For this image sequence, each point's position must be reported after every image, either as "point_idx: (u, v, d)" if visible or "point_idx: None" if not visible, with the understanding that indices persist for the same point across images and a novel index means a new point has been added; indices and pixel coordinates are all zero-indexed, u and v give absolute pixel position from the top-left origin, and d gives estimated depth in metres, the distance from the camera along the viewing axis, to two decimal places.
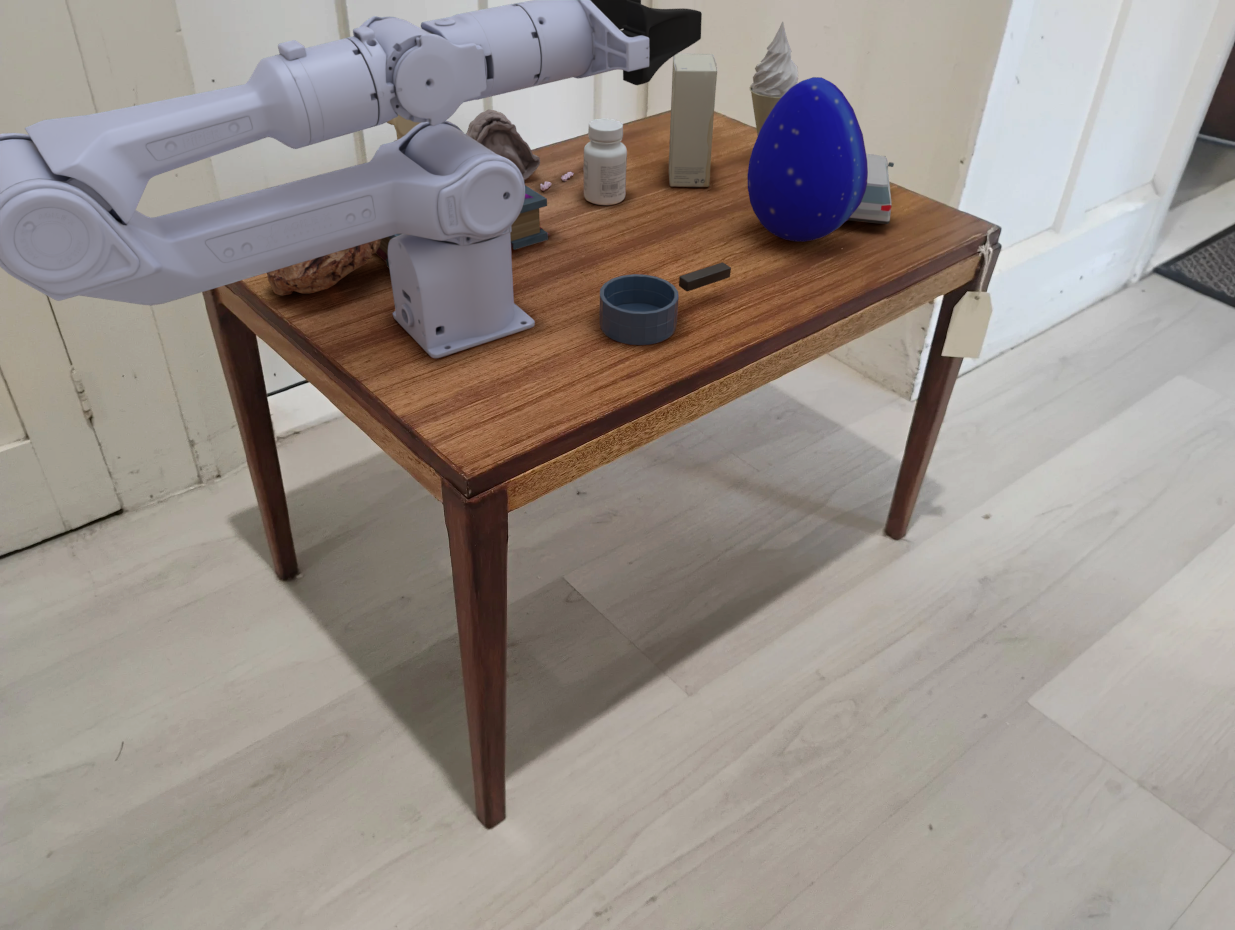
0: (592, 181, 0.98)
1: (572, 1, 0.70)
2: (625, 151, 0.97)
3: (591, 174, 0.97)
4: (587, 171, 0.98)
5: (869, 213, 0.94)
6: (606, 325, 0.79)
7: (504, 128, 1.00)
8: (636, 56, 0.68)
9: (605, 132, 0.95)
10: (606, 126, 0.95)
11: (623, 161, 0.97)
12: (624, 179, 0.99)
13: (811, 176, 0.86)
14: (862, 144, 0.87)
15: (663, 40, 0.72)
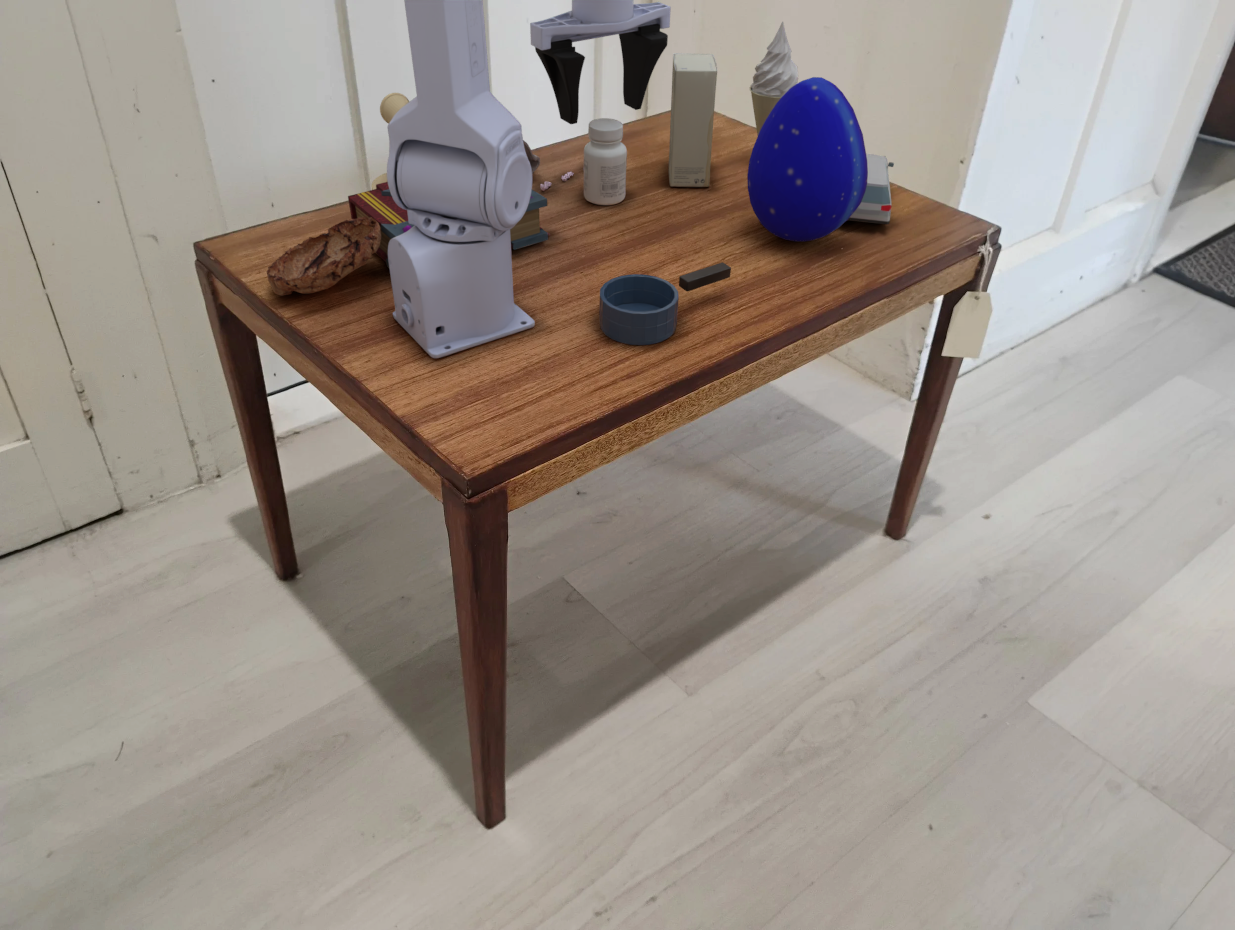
0: (592, 181, 0.98)
1: None
2: (625, 151, 0.97)
3: (591, 174, 0.97)
4: (587, 171, 0.98)
5: (869, 213, 0.94)
6: (606, 325, 0.79)
7: None
8: None
9: (605, 132, 0.95)
10: (606, 126, 0.95)
11: (623, 161, 0.97)
12: (624, 179, 0.99)
13: (811, 176, 0.86)
14: (862, 144, 0.87)
15: None
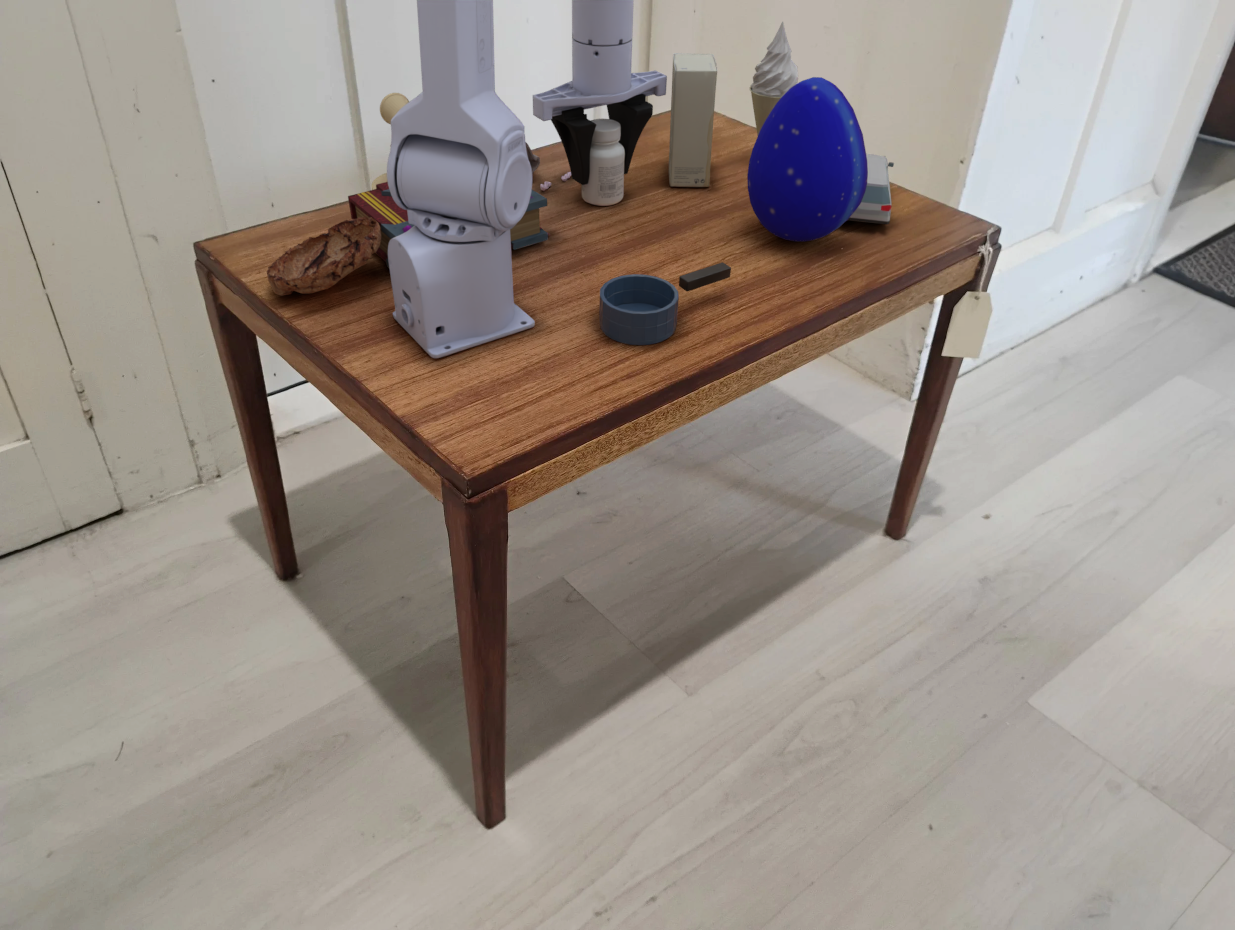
0: (590, 181, 0.98)
1: None
2: (623, 151, 0.97)
3: (589, 174, 0.97)
4: None
5: (869, 213, 0.94)
6: (606, 325, 0.79)
7: None
8: None
9: (602, 132, 0.94)
10: (604, 127, 0.95)
11: (621, 161, 0.97)
12: (622, 179, 0.98)
13: (811, 176, 0.86)
14: (862, 144, 0.87)
15: None
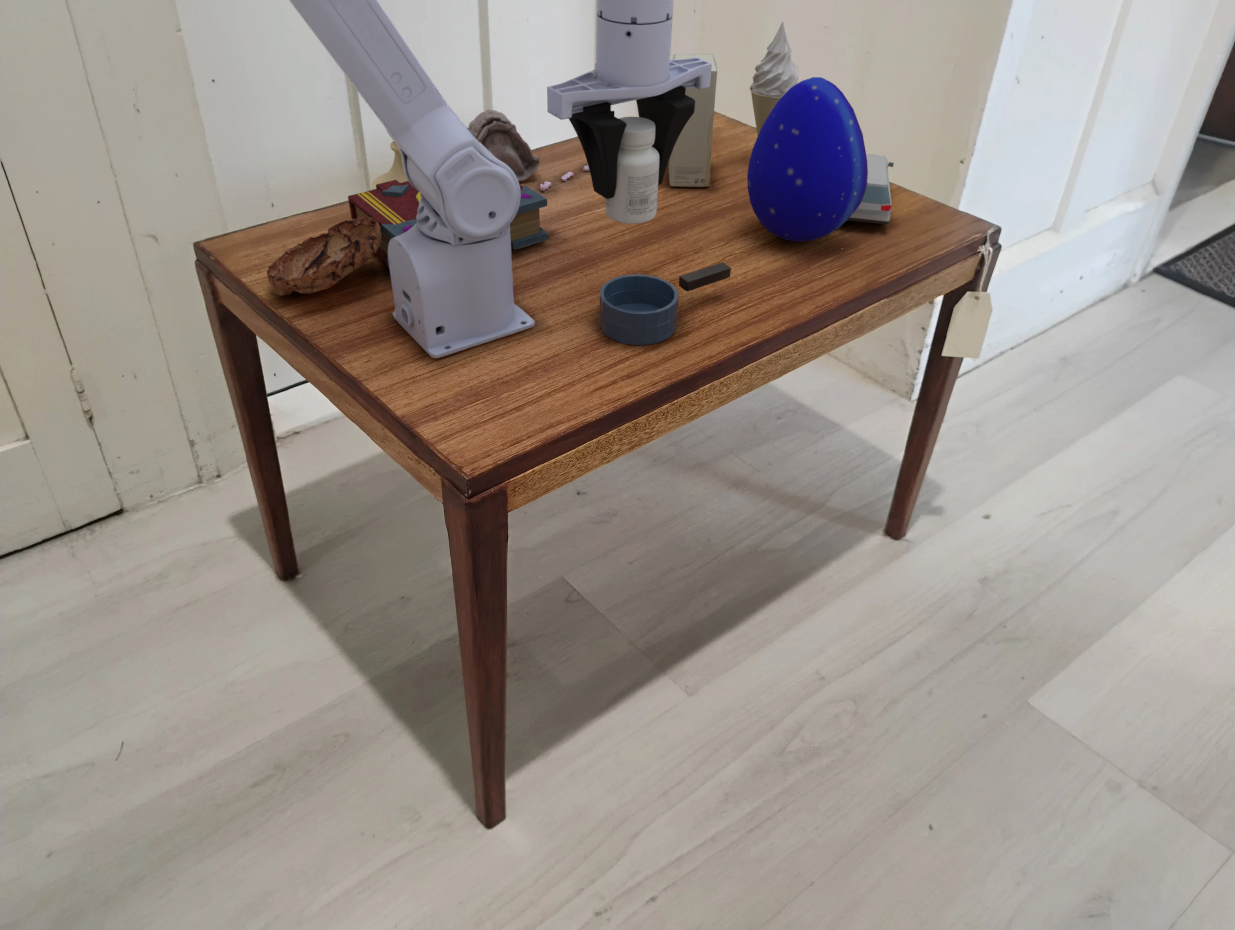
0: (616, 194, 0.79)
1: None
2: (658, 157, 0.78)
3: (616, 186, 0.78)
4: None
5: (869, 213, 0.94)
6: (606, 325, 0.79)
7: (504, 128, 1.00)
8: None
9: (634, 134, 0.76)
10: (635, 127, 0.76)
11: (655, 170, 0.78)
12: (656, 192, 0.80)
13: (811, 176, 0.86)
14: (862, 144, 0.87)
15: None
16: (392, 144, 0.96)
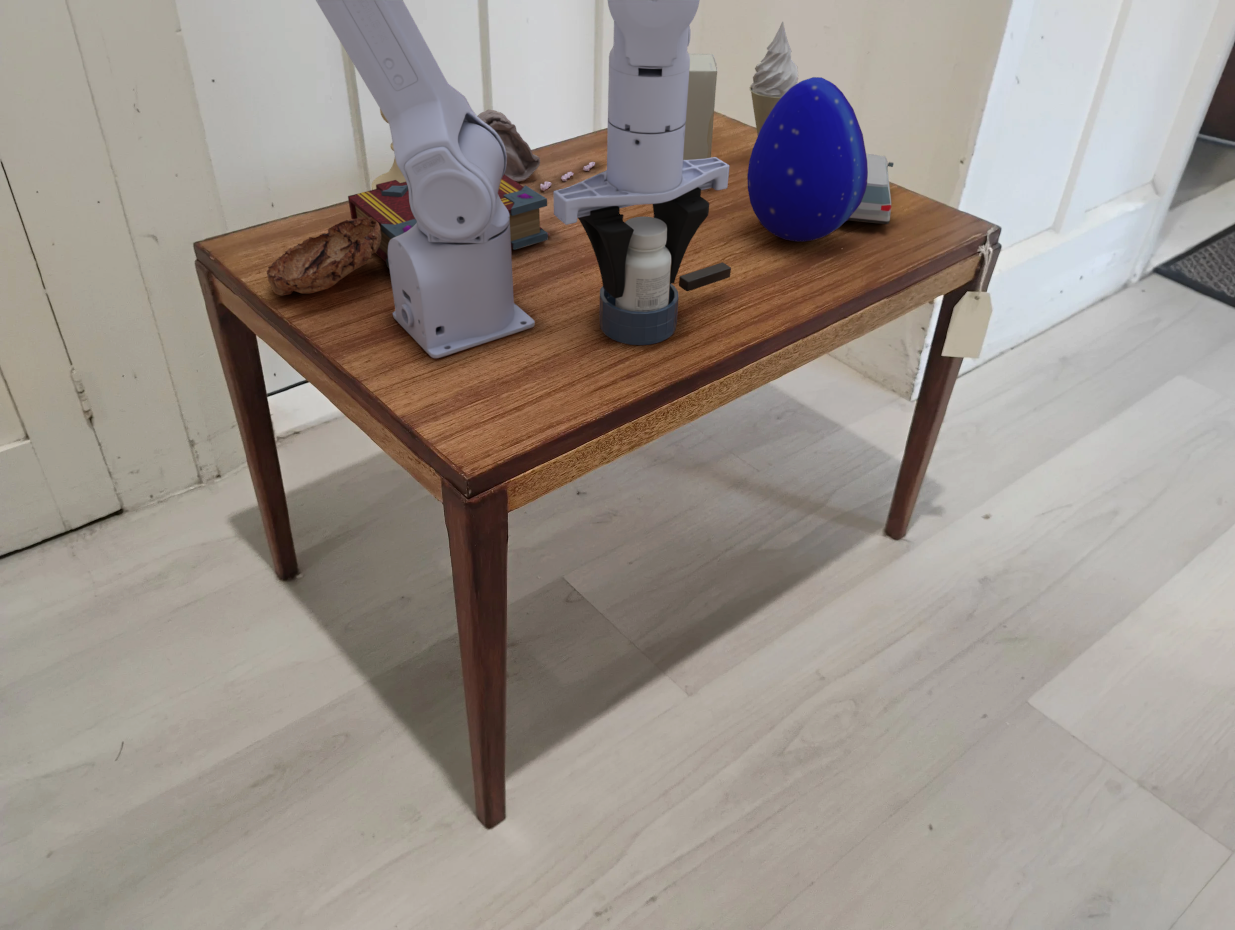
0: (625, 294, 0.77)
1: None
2: (669, 259, 0.76)
3: (625, 286, 0.77)
4: None
5: (869, 213, 0.94)
6: (606, 325, 0.79)
7: (504, 128, 1.00)
8: None
9: (643, 237, 0.74)
10: (645, 229, 0.74)
11: (666, 272, 0.76)
12: (666, 292, 0.78)
13: (811, 176, 0.86)
14: (862, 144, 0.87)
15: None
16: (392, 144, 0.96)
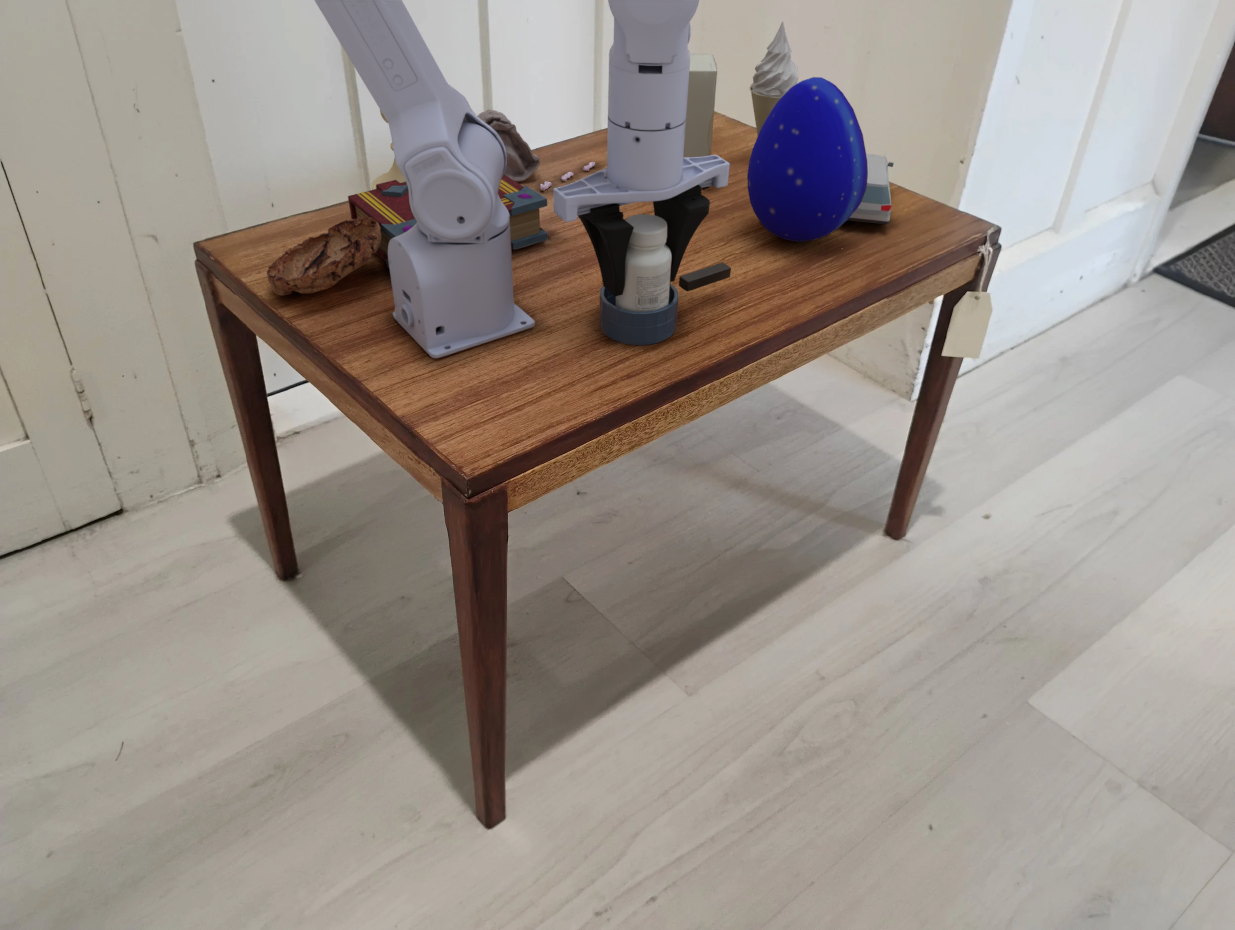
0: (625, 292, 0.77)
1: None
2: (669, 257, 0.76)
3: (625, 284, 0.77)
4: None
5: (869, 213, 0.94)
6: (606, 325, 0.79)
7: (504, 128, 1.00)
8: None
9: (643, 235, 0.74)
10: (645, 227, 0.74)
11: (666, 270, 0.76)
12: (667, 290, 0.78)
13: (811, 176, 0.86)
14: (862, 144, 0.87)
15: None
16: (392, 144, 0.96)
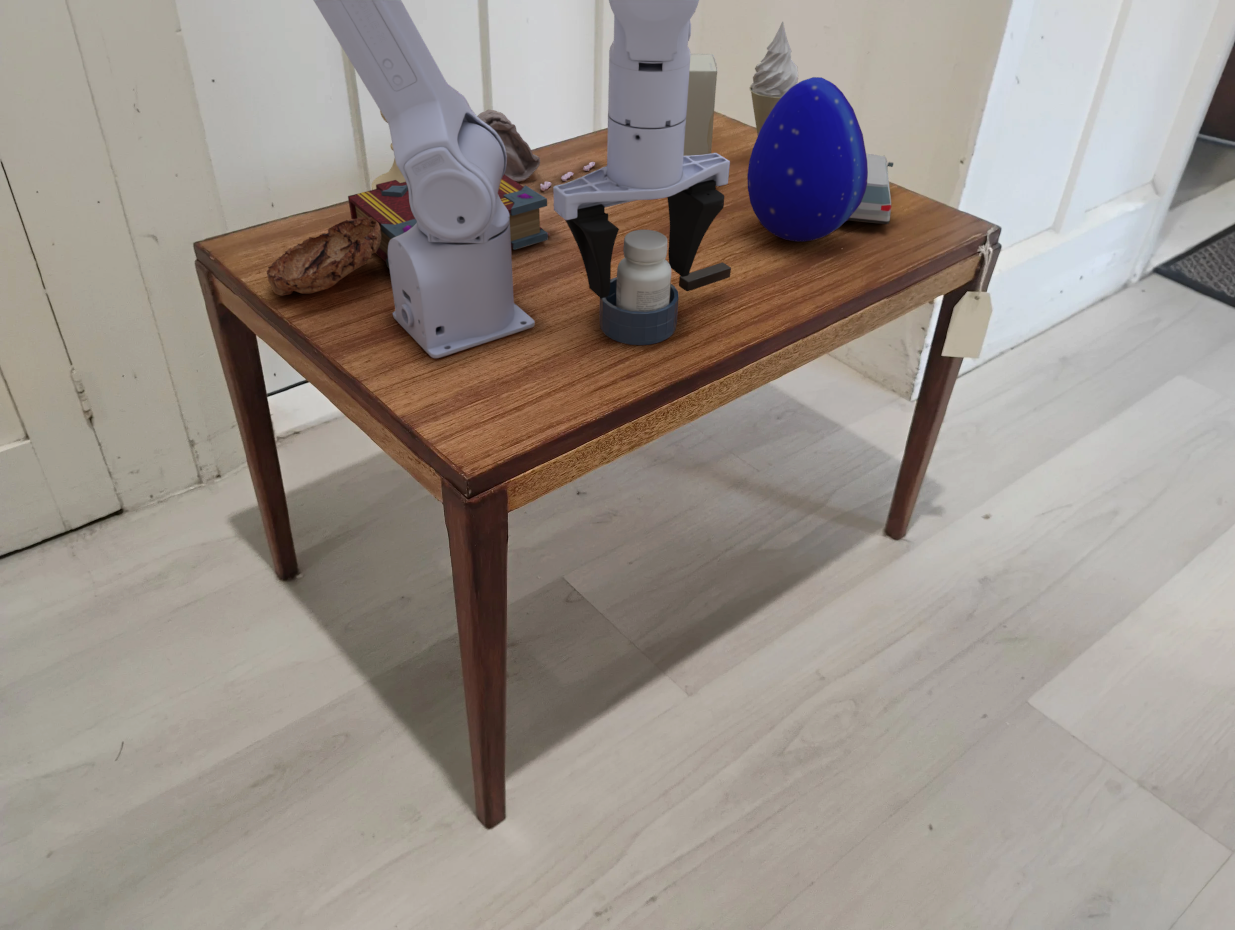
0: (626, 307, 0.78)
1: None
2: (669, 272, 0.77)
3: (625, 299, 0.77)
4: (620, 294, 0.78)
5: (869, 213, 0.94)
6: (606, 325, 0.79)
7: (504, 128, 1.00)
8: None
9: (643, 250, 0.75)
10: (646, 243, 0.75)
11: (666, 284, 0.77)
12: (666, 305, 0.78)
13: (811, 176, 0.86)
14: (862, 144, 0.87)
15: None
16: None
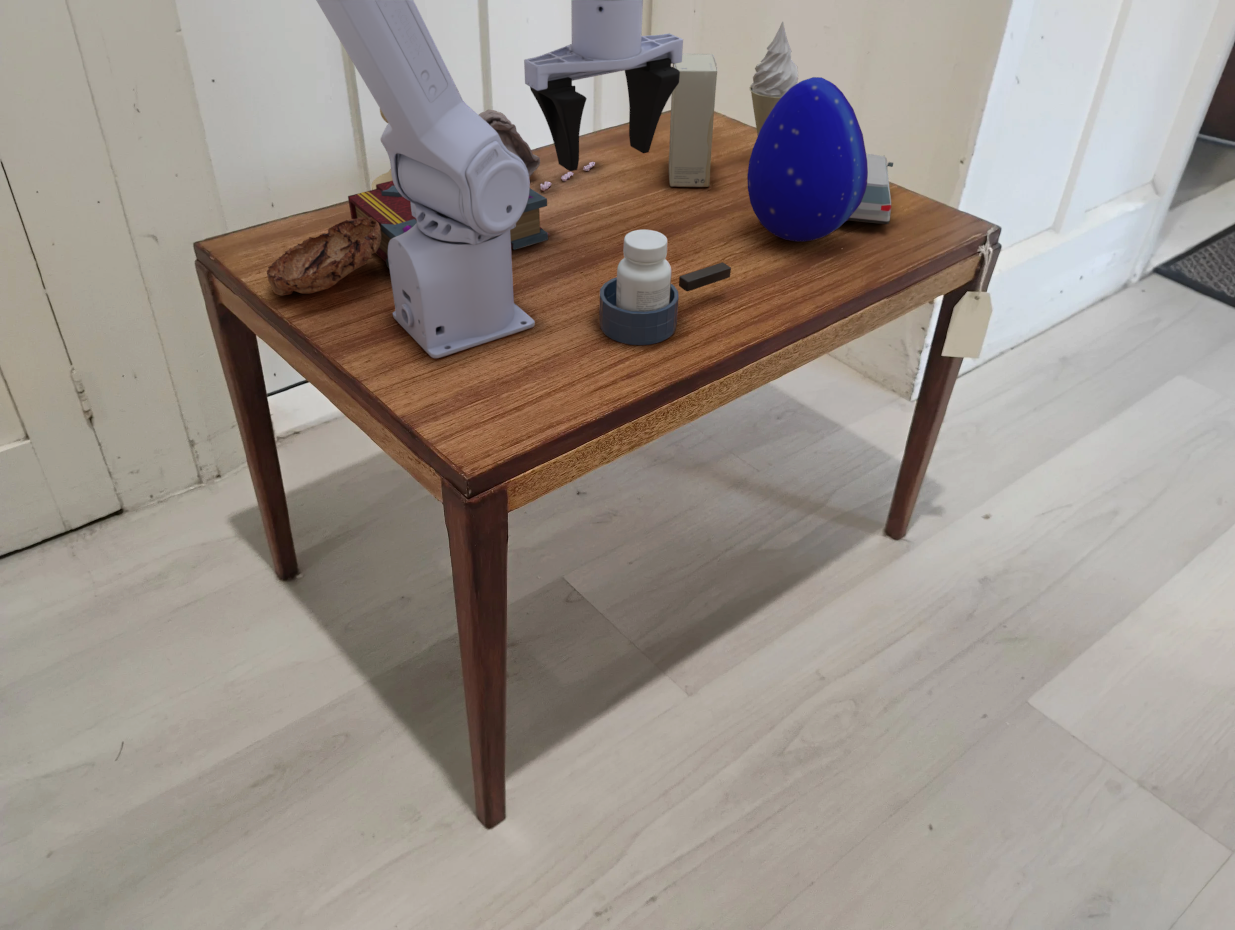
0: (626, 307, 0.78)
1: None
2: (669, 272, 0.77)
3: (625, 299, 0.77)
4: (620, 294, 0.78)
5: (869, 213, 0.94)
6: (606, 325, 0.79)
7: (504, 128, 1.00)
8: None
9: (643, 251, 0.75)
10: (646, 243, 0.75)
11: (666, 284, 0.77)
12: (666, 305, 0.78)
13: (811, 176, 0.86)
14: (862, 144, 0.87)
15: None
16: None
